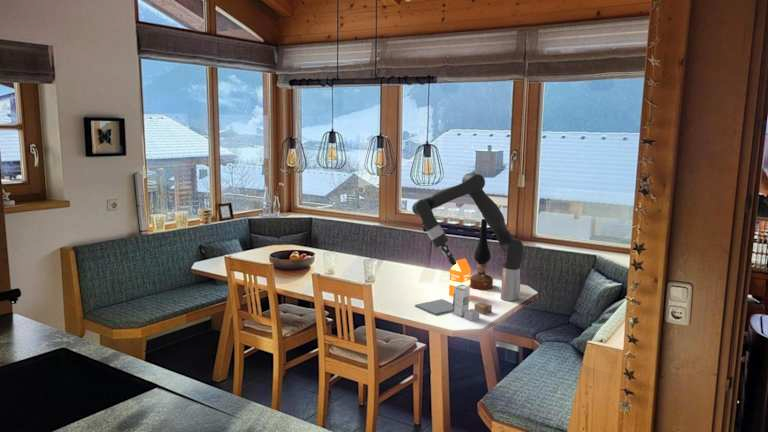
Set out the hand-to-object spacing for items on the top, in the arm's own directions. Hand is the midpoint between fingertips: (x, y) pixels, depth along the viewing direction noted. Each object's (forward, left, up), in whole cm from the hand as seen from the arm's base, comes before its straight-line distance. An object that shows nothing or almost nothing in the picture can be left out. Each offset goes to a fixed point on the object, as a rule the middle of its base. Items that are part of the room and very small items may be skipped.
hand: (454, 264), depth 294 cm
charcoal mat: (+3, -7, -24) cm, 25 cm away
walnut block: (-12, +9, -24) cm, 29 cm away
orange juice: (-21, -18, -24) cm, 37 cm away
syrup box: (0, +6, -24) cm, 25 cm away
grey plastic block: (0, +14, -24) cm, 28 cm away
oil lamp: (-43, -24, -24) cm, 55 cm away
